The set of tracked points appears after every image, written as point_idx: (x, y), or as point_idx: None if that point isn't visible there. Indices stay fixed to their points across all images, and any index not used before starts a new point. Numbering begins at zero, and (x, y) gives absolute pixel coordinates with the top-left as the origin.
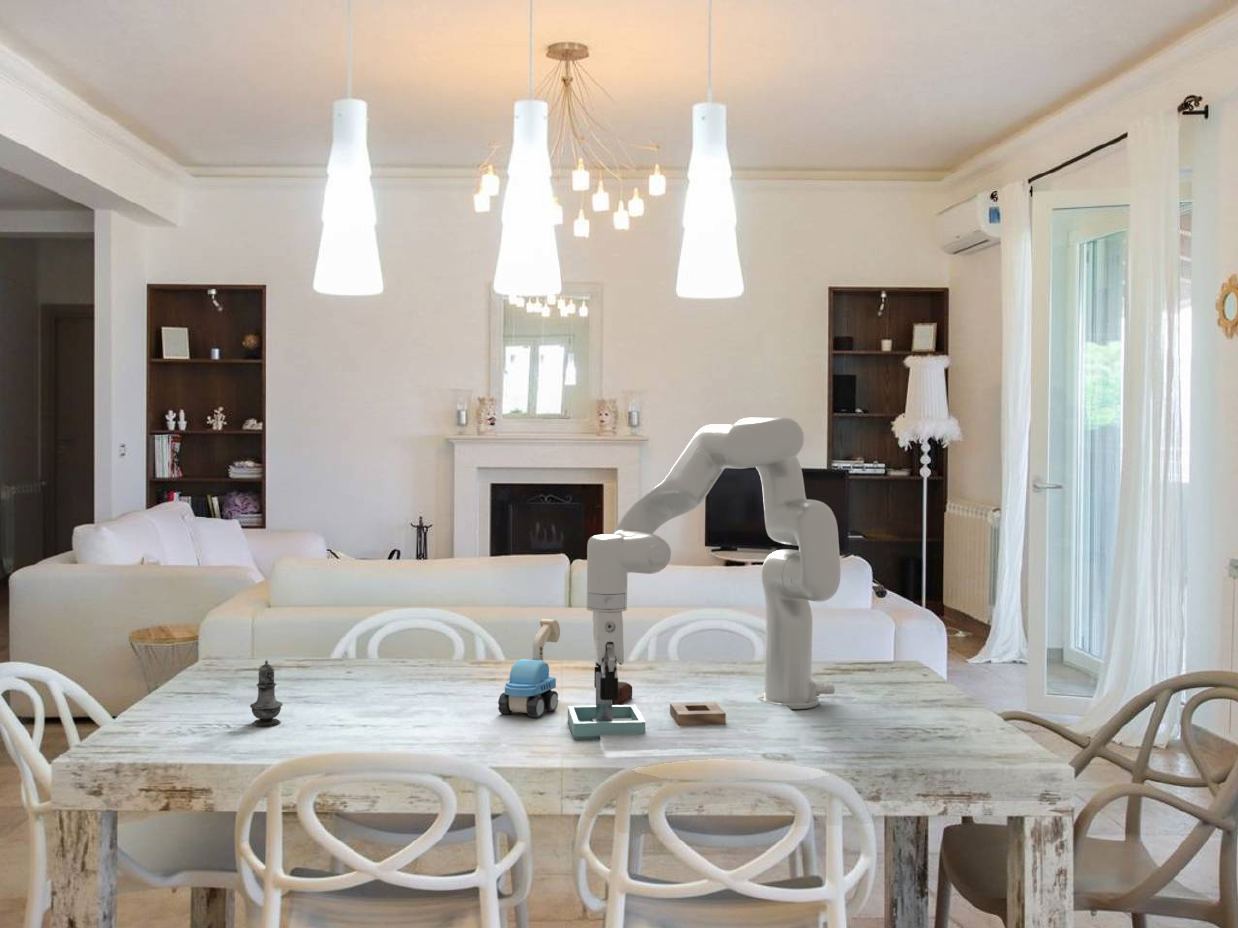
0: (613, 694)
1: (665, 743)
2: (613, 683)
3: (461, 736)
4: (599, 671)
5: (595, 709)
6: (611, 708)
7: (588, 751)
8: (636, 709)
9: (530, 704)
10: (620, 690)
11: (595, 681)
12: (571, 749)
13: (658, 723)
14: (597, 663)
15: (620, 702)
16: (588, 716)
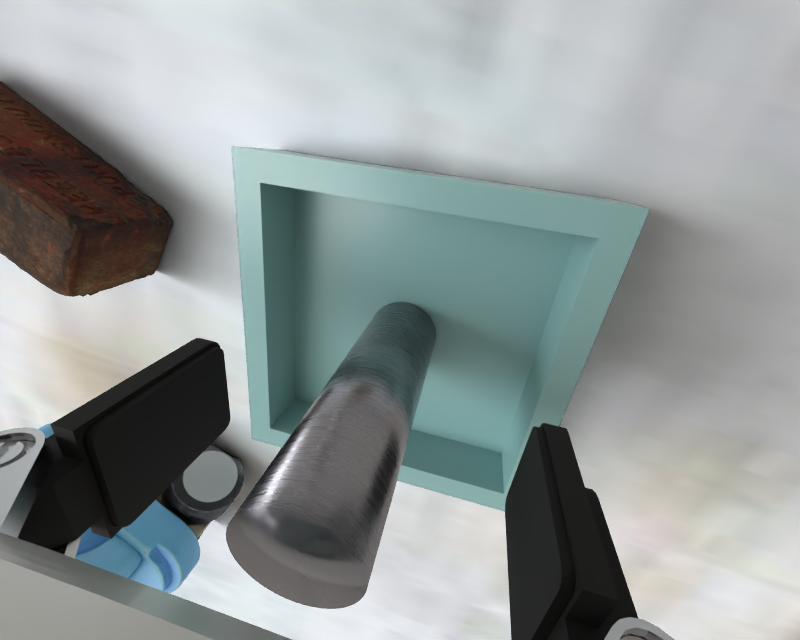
0: (594, 492)
1: (781, 111)
2: (626, 589)
3: (391, 635)
4: (141, 485)
5: (273, 346)
6: (408, 350)
7: (693, 477)
8: (334, 170)
9: (219, 513)
10: (16, 167)
11: (202, 449)
12: (632, 509)
13: (347, 29)
14: (71, 556)
15: (81, 165)
16: (289, 358)
